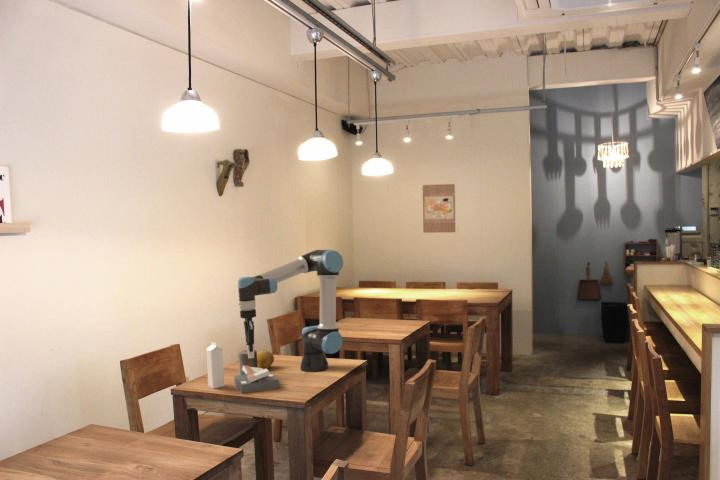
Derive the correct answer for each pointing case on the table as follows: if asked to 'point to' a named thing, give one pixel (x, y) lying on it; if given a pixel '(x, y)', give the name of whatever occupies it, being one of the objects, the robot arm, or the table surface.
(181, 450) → the table surface
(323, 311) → the robot arm
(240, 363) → the pillar candle
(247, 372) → the rocker
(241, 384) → the grey tray
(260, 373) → the white flat box
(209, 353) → the milk
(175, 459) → the table surface
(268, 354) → the potato
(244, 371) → the rocker
